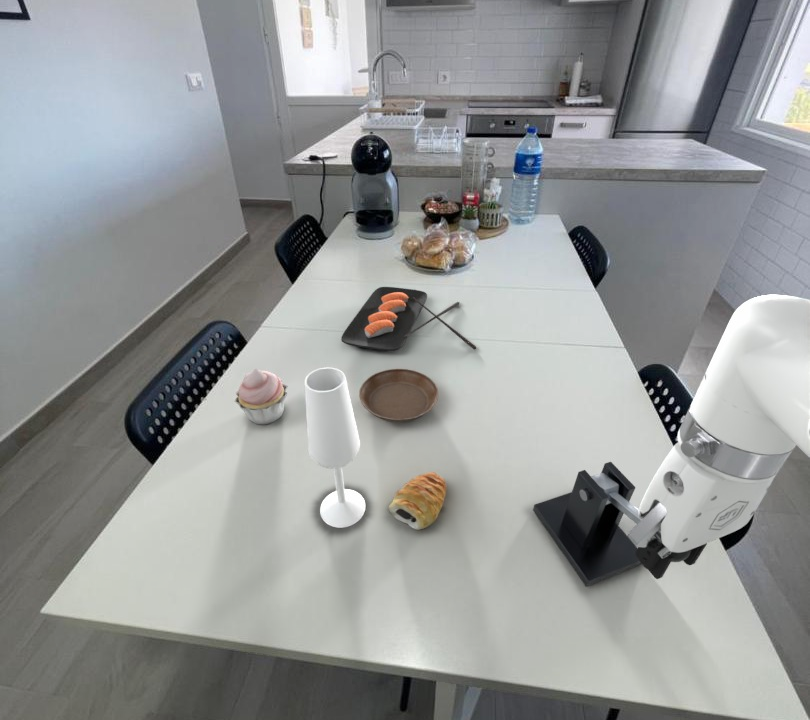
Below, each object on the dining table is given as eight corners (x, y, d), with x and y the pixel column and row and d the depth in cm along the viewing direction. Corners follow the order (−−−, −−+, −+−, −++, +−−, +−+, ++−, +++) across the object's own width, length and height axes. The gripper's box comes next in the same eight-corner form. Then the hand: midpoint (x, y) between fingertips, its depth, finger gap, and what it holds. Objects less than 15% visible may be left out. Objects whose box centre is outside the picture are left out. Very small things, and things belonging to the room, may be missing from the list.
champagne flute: (356, 532, 62) (341, 402, 48) (312, 521, 64) (285, 392, 50) (372, 494, 68) (362, 367, 54) (331, 484, 69) (311, 358, 55)
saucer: (445, 386, 89) (446, 375, 87) (426, 437, 77) (426, 426, 76) (376, 373, 92) (375, 362, 91) (347, 420, 81) (346, 409, 79)
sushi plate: (378, 291, 122) (377, 278, 120) (488, 305, 116) (489, 291, 114) (337, 348, 100) (335, 334, 98) (470, 369, 93) (472, 354, 91)
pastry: (419, 472, 71) (420, 456, 69) (457, 492, 68) (459, 475, 66) (385, 515, 65) (385, 498, 62) (425, 538, 62) (426, 522, 59)
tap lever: (697, 563, 47) (702, 536, 45) (670, 574, 46) (674, 547, 44) (605, 490, 58) (607, 467, 57) (582, 497, 57) (584, 474, 56)
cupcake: (297, 397, 86) (289, 355, 80) (284, 432, 79) (274, 387, 73) (250, 395, 87) (239, 353, 81) (232, 429, 79) (218, 385, 73)
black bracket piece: (643, 563, 58) (674, 507, 52) (585, 586, 56) (610, 531, 49) (583, 492, 68) (603, 437, 61) (532, 510, 65) (547, 454, 58)
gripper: (694, 500, 33) (627, 621, 43) (846, 443, 37) (751, 565, 48) (622, 433, 39) (578, 553, 49) (760, 390, 43) (693, 509, 54)
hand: (664, 558), depth 48 cm, fingers closed on tap lever, 3 cm apart
